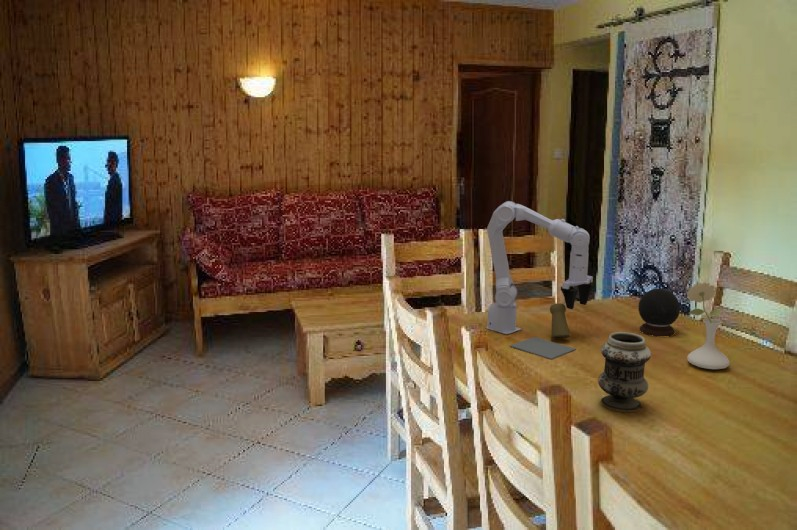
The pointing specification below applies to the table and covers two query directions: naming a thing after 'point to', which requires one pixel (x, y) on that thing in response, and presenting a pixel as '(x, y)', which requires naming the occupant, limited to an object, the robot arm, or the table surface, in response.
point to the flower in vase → (707, 331)
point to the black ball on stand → (658, 312)
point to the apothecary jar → (624, 371)
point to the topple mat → (542, 348)
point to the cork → (559, 321)
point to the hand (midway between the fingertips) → (576, 306)
